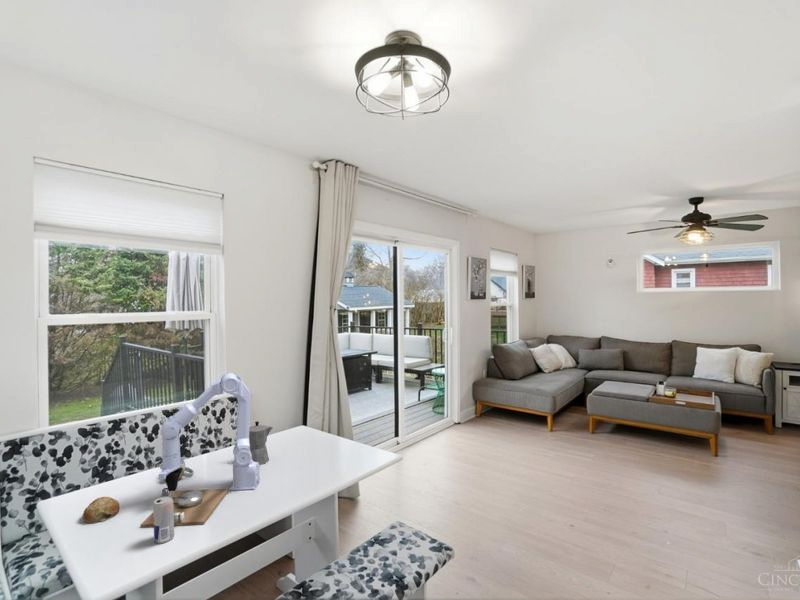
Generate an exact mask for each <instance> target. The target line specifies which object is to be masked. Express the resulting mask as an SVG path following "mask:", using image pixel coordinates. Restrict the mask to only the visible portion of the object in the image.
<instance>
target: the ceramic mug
mask: <svg viewBox="0 0 800 600" xmlns="http://www.w3.org/2000/svg"><path fill="white" fill-rule="evenodd" d="M180 468H182V472H181V474H180V476H179V480H180V479H182V478H183V477H184V478H190V477H193V475H194V472H195V471H194V469H192V468H190V467H187V466H186V462H185V460H184V463H183V464H182V465H181V467H180Z"/></svg>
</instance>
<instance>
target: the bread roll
mask: <svg viewBox="0 0 800 600" xmlns="http://www.w3.org/2000/svg"><path fill="white" fill-rule="evenodd" d="M119 512H120V502H119V501H118V500H116V499H115V498H113V497H110V496H101V497H97V498H96V499H94V500H92V501H91V502H90V503H89V505H87V507H86V508H84V511H83V513H82V516H83V518H82V519H83V521H84V522H86V523H88V524H89V523H91V524H96V523H103V522H105V521H108V520H109V519H112V518H113V517H115V516H116V515H118V514H119Z"/></svg>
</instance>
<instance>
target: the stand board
mask: <svg viewBox="0 0 800 600" xmlns="http://www.w3.org/2000/svg"><path fill="white" fill-rule="evenodd" d="M191 491H200V492H202V493H203V500H202V502H201V503H199V504H198V505H195V506H193V507H188V508H181V507H178V503H177V502H176V503H173V512H174V527H178V526H179V527H180V526H181V527H183V526H198V525H199V526H201V525H205V523H207V521H208V520H209V519H210V517H211V516H212V515H213V513H214V511H216V510H217V507H218V506H219V505H221V503H222V502H223V500H224V498H225V497H226V496H227V495H228V493H229V492H230V488H226V487H225V488H209V489H208V488H207V489H204V488H203V489H185V490H184V489H182V490H175V491H172V493H171V494H170V495H169V496H171V497H179V496H180V495H182V494H184V493H187V492H191ZM140 528H141V529H142V528H154V518H153V512H151V514H150V515H149V516H148V517H147V518H146V519H145V520H143V521H142V522H141V523H140Z"/></svg>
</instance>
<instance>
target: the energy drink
mask: <svg viewBox="0 0 800 600" xmlns="http://www.w3.org/2000/svg"><path fill="white" fill-rule="evenodd" d="M152 511H153V512H152V513H153V518H154V527H153V540H154V542H155V543H156V544H165V543H168V542H170V541H171V540H172V539H174V537H175V526H174V512H173V499H172V497H171V496H170V495H169V496H164V497H162V496H160V497H158V498H156V499H155V500H154V501H153V505H152Z"/></svg>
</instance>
